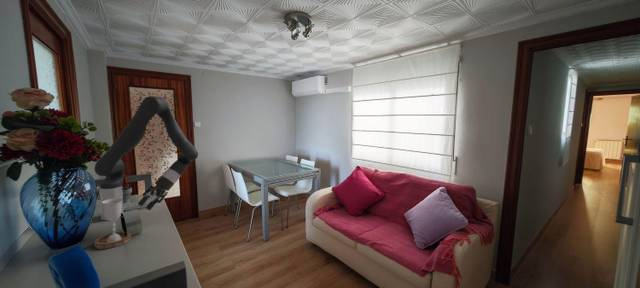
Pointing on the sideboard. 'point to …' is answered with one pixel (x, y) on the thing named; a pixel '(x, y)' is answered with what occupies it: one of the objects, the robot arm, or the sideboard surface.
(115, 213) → the chalice
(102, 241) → the tan segmented-rim dish
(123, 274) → the sideboard surface
